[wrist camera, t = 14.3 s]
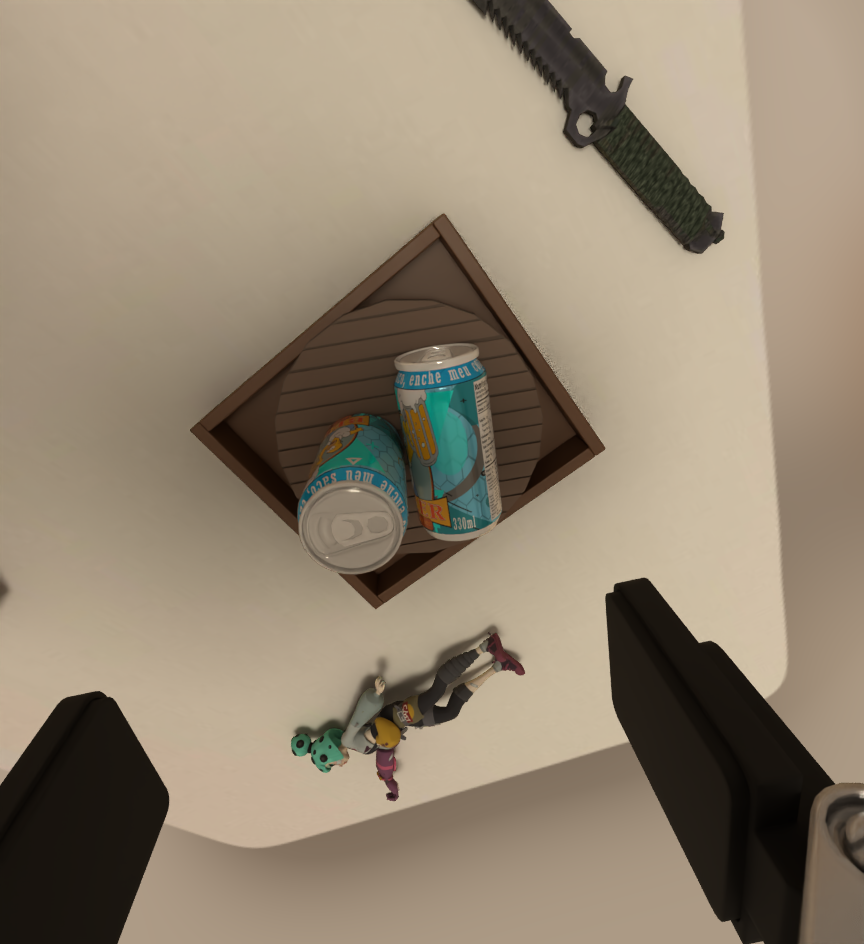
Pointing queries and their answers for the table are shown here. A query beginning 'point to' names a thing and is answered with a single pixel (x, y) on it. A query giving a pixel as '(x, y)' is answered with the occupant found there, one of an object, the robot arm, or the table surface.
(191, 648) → the table surface
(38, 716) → the table surface
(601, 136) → the knife
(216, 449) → the tray
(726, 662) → the robot arm
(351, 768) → the table surface
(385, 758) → the figurine
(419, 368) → the blue cans and disc
